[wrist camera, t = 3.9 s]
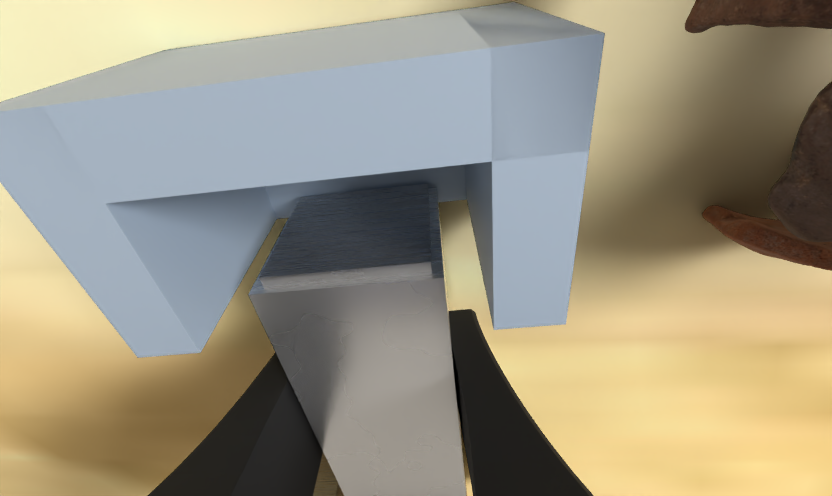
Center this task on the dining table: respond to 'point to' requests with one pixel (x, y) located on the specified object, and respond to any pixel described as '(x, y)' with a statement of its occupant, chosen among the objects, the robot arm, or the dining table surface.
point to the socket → (308, 157)
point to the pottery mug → (811, 156)
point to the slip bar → (369, 337)
